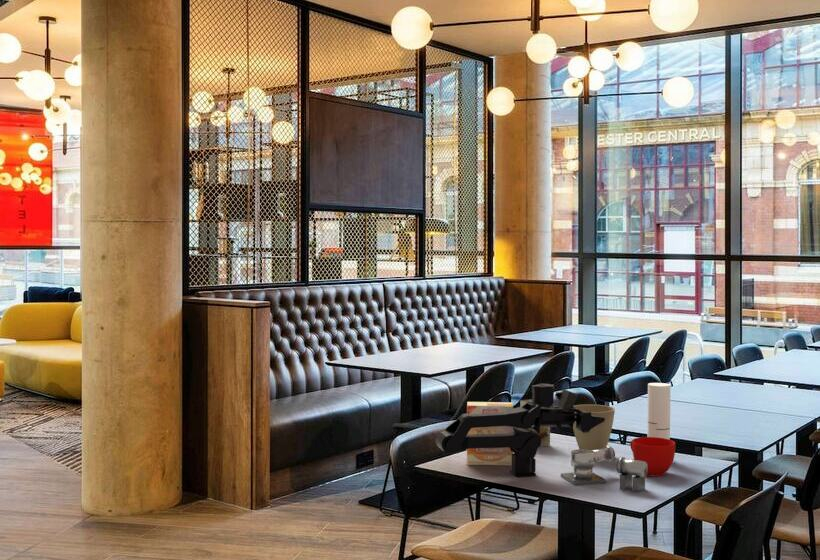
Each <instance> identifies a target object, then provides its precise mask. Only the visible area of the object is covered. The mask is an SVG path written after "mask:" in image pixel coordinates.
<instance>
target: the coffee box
mask: <svg viewBox="0 0 820 560" xmlns="http://www.w3.org/2000/svg"><path fill="white" fill-rule="evenodd" d="M528 401H531V402H532V398H531V399H521V400H520V401H519V403H520V405H519V407H522V406H523V405H524V404H525V403H527V402H528ZM541 408H551V406H550V407H541ZM529 411H531V409H530V410H529ZM529 429H530V430H532V431H533V429H532V428H529ZM533 432H534V431H533ZM535 433H536V432H535ZM537 434H538V433H537ZM538 435H539V436H540V438H541V445H540V447H539V448H541V447H544V448H545V447H548V446H549V447H550V446H551V427H540V433H539V434H538Z"/></svg>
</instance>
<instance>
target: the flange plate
mask: <svg viewBox="0 0 820 560" xmlns="http://www.w3.org/2000/svg"><path fill="white" fill-rule="evenodd" d="M593 468H594V467H593ZM593 468H576V467H573V472H562V473H560V477H561V478H562V479H564V480H565V479H566V481H567V482H569V483H570V484H572V485H574V486H581V485H584V484H586V485H595V483H599V484H606V483H607V480H606V479H605V478H604V477H603V476H600V475H599V474H596V473H594V472H593ZM584 486H585V485H584Z"/></svg>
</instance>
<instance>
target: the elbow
mask: <svg viewBox="0 0 820 560" xmlns="http://www.w3.org/2000/svg"><path fill="white" fill-rule="evenodd" d="M615 457H616V452H615V449H614V448H613V447H612V446H608V445H607V447H604V448H603V449H599V450H594V451H591V450H583V449H579V448H578V449H573V450H570V466H572V467H573V468H574V467H576V468H596V463H599V462H611V461H613V460H614V459H615Z"/></svg>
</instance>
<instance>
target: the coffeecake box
mask: <svg viewBox="0 0 820 560" xmlns="http://www.w3.org/2000/svg"><path fill="white" fill-rule="evenodd" d="M466 403H467V404H466V414H482V413H500V412H505V411H507V410H510V409H514V404H513V402H504V401H503V402H501V401H498V402H497V401H496V402H495V401H494V402H493V401H467V402H466ZM511 432H513V427H510V426H495V427H479V428H471V429H470V431H469V432H468V434H467V435H472V434H508V433H511ZM512 453H514V452H511V450H510V447H505V448H471V449H466V465H468V466H511V467H512Z"/></svg>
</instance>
